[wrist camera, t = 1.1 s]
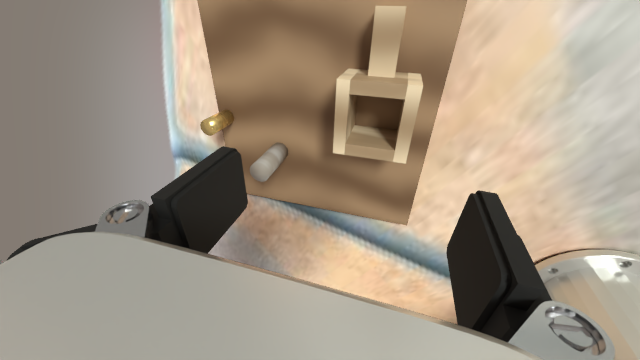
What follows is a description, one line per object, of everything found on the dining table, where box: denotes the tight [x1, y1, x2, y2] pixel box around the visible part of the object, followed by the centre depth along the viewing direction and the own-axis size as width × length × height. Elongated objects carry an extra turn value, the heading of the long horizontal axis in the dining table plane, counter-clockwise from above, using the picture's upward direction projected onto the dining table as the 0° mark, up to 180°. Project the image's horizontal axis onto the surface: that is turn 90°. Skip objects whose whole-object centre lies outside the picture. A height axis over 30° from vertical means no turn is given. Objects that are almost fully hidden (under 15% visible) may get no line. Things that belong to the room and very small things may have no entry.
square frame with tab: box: [333, 6, 423, 164], centre depth 20 cm, size 10×6×4 cm, turn 178°
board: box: [198, 0, 467, 225], centre depth 24 cm, size 22×22×6 cm
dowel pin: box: [201, 110, 234, 136], centre depth 27 cm, size 2×2×4 cm
